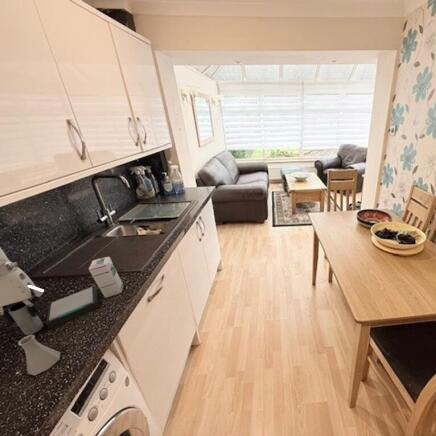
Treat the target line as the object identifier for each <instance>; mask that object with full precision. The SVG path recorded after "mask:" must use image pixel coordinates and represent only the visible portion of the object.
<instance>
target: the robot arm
mask: <svg viewBox="0 0 436 436" xmlns="http://www.w3.org/2000/svg"><path fill="white" fill-rule="evenodd" d="M45 292H46V290H45V289H43V288H40V287H37V286H36V284H35V283H34V282H33V280H32V279H31V278H30V277H29V276H28V274H27V273H26V272H24V270H22V269H21V268H20V267H19V263H18V262H17V261H14V262H13V261H11V260H10V259H9V257H7V255H6V253H5V252H4V250H3V249H2V247H1V246H0V316H2V317H3V318H4V319H5V321H6V322H8V323H9V324H10V325H12V324H14V323H16V322H15V320H14V319H13V318H12V316H11V315H10V314H9V312H8V309H9V308H10V307H9V305H13V304H16V303H19V302H23V303H25V304H26V305H27V306H28V307H27V309H28V311H29V312H30V314H31V315H32V317H35V316H38V314H39V312H40V311H41V308H40V307H39V305H38V303H37V301H38V299H39V298H40V297H41V296H43V294H45ZM32 293H33V294H34V295H32Z"/></svg>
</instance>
